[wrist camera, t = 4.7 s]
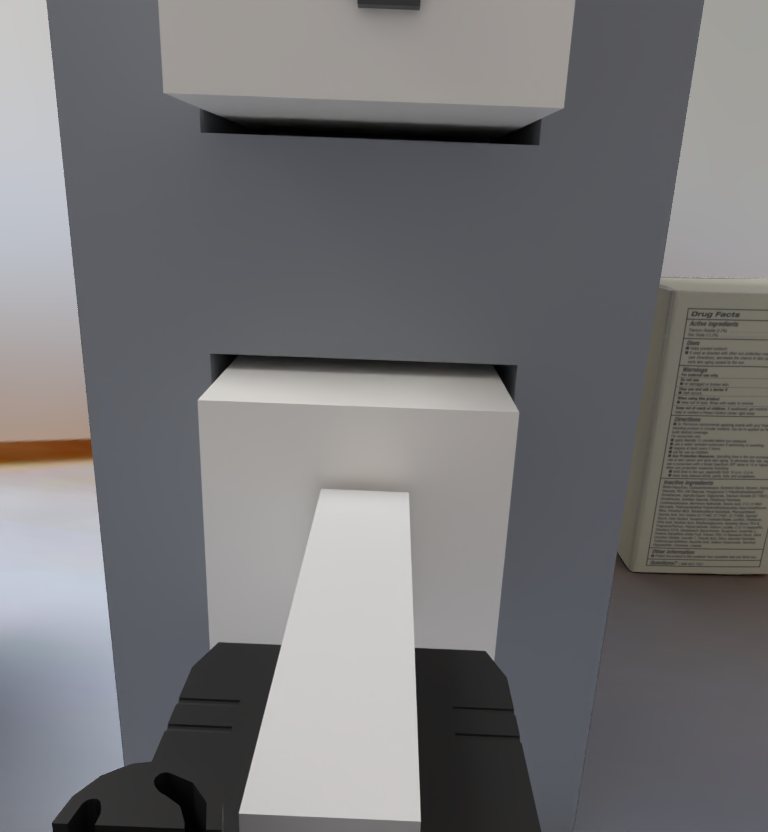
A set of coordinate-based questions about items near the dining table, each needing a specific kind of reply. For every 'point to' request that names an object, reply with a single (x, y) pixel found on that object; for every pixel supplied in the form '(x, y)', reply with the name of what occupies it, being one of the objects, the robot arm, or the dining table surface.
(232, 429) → the plain button
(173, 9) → the white protruding block
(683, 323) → the skincare box
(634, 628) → the dining table surface
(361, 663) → the robot arm
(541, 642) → the grey upright slab
